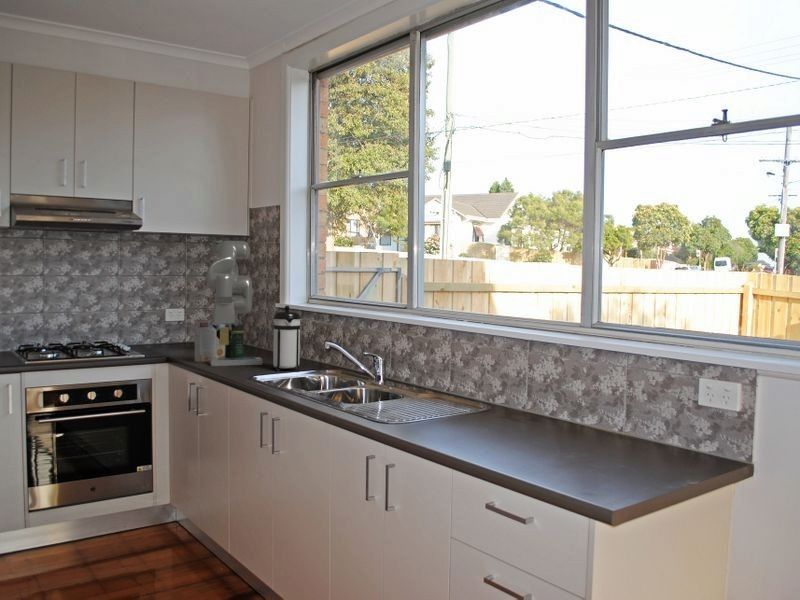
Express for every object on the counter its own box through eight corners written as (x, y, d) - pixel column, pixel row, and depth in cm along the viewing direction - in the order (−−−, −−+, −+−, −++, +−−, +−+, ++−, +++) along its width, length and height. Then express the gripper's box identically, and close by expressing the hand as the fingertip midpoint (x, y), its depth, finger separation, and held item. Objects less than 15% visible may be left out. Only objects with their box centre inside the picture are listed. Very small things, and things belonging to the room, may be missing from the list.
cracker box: (218, 359, 367) (219, 318, 366) (225, 361, 363) (225, 319, 362) (193, 362, 357) (194, 319, 356) (199, 363, 353) (200, 320, 352)
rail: (209, 364, 349) (209, 358, 349) (259, 363, 357) (259, 356, 357) (211, 366, 342) (211, 360, 341) (262, 365, 350) (262, 358, 350)
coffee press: (310, 369, 341) (311, 305, 340) (288, 373, 327) (289, 307, 326) (281, 365, 350) (282, 304, 349) (259, 369, 336) (260, 305, 335)
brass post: (218, 343, 349) (219, 327, 348) (227, 343, 350) (227, 327, 350) (219, 344, 345) (220, 328, 344) (228, 344, 346) (228, 328, 346)
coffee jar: (246, 359, 369) (246, 323, 368) (232, 361, 364) (233, 324, 363) (236, 357, 376) (236, 322, 375) (222, 359, 370) (223, 322, 370)
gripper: (240, 299, 352) (240, 337, 354) (205, 299, 347) (205, 337, 348) (242, 301, 345) (242, 339, 347) (206, 301, 340) (206, 339, 341)
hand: (223, 338), depth 347 cm, fingers closed on brass post, 4 cm apart
